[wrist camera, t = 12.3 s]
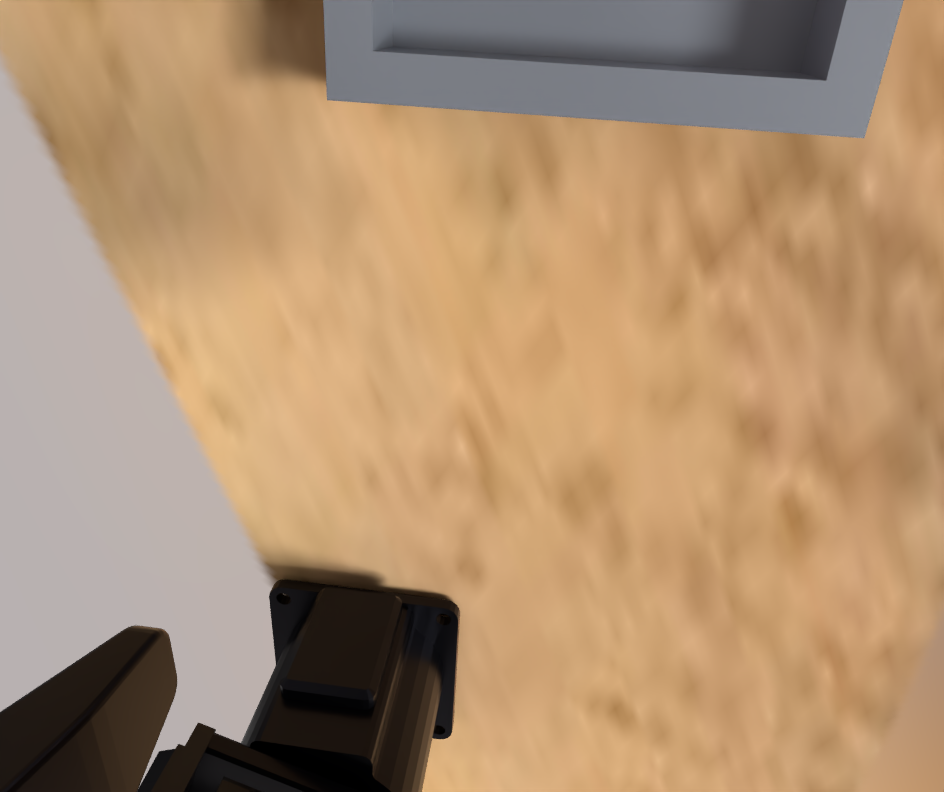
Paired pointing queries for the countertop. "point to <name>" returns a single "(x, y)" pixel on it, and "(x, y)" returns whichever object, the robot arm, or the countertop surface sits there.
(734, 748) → the countertop surface
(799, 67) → the tray
